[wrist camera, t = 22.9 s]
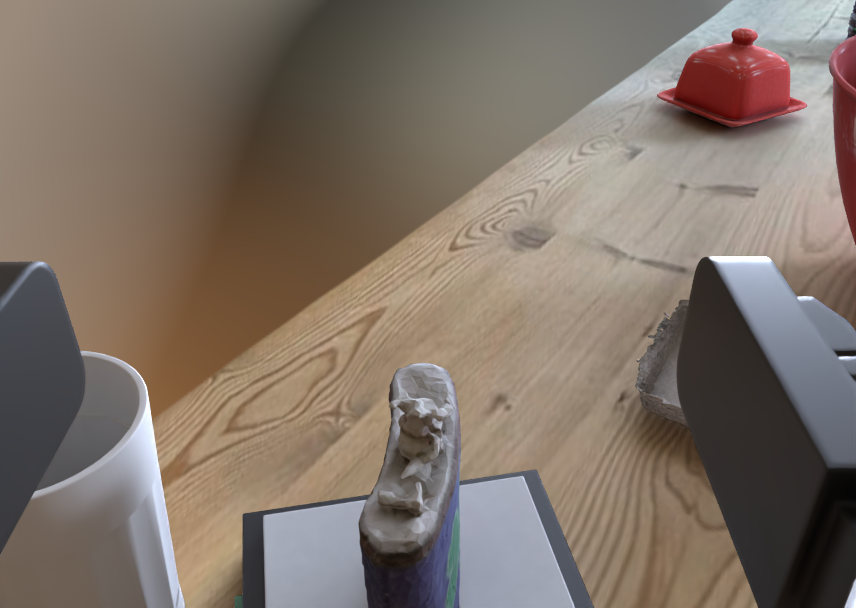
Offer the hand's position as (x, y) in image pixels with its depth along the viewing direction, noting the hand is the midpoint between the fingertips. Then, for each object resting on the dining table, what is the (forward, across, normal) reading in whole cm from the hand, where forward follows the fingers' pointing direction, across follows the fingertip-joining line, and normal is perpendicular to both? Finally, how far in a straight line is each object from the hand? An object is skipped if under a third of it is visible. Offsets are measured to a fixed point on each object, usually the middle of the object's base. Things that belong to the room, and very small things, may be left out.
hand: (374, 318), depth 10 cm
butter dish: (+73, -32, +25) cm, 84 cm away
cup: (+13, +14, +25) cm, 31 cm away
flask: (+11, 0, +22) cm, 25 cm away
